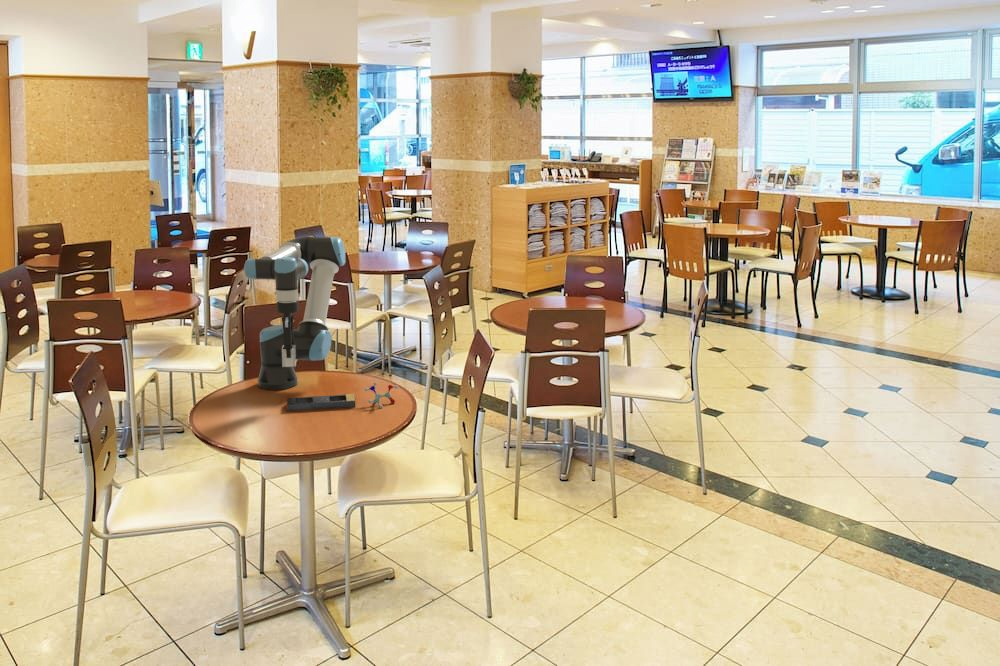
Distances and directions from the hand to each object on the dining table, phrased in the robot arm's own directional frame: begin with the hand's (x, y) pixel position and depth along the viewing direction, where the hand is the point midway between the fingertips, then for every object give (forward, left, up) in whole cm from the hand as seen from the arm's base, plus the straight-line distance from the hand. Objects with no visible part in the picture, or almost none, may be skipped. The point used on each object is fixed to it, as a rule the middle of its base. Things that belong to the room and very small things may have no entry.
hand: (290, 364), depth 318 cm
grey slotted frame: (+4, +10, -15) cm, 19 cm away
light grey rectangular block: (0, 0, 0) cm, 0 cm away
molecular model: (+6, +31, -15) cm, 36 cm away
